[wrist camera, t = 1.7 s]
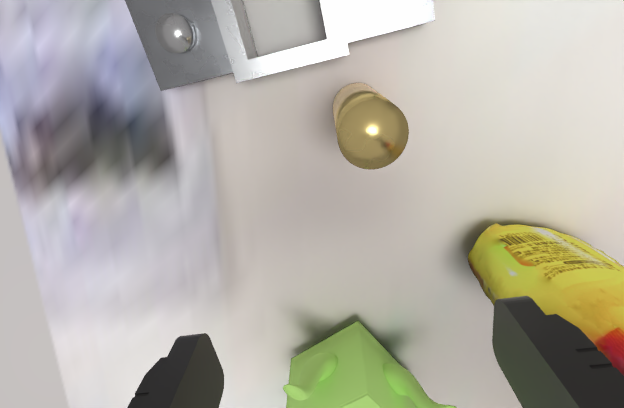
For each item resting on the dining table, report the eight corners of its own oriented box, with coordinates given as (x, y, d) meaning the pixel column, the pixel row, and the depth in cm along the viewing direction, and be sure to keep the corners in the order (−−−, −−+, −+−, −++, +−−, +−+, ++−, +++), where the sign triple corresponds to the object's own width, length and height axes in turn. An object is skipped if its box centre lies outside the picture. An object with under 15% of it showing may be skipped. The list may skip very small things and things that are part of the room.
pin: (376, 77, 26) (404, 91, 17) (383, 125, 28) (412, 161, 19) (328, 89, 27) (331, 108, 18) (337, 135, 28) (344, 175, 19)
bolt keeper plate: (413, -97, 22) (432, -127, 18) (425, 33, 25) (442, 30, 21) (136, -14, 24) (103, -26, 21) (177, 96, 27) (155, 103, 24)
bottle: (597, 222, 31) (996, 469, 13) (568, 279, 33) (862, 551, 15) (469, 207, 31) (684, 437, 12) (449, 265, 33) (603, 526, 15)
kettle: (293, 301, 36) (281, 401, 25) (426, 311, 36) (468, 414, 25) (287, 396, 42) (275, 507, 32) (400, 404, 42) (426, 518, 32)
